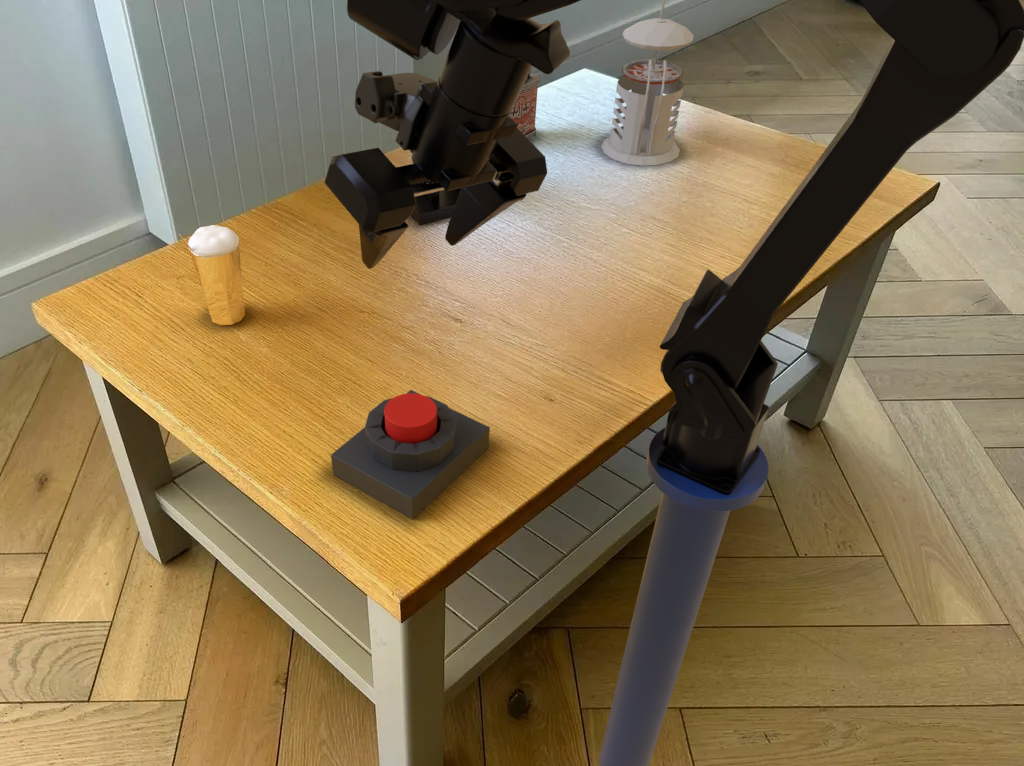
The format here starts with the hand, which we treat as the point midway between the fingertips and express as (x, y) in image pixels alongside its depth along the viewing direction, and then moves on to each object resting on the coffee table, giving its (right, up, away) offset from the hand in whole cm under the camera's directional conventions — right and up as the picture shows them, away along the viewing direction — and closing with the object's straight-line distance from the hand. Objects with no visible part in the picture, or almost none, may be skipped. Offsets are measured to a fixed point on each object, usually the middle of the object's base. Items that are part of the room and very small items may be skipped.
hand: (409, 253), depth 76 cm
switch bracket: (+3, +12, +28) cm, 31 cm away
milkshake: (-18, -4, +11) cm, 21 cm away
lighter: (+12, +23, +40) cm, 48 cm away
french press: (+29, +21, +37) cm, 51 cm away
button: (0, -15, -7) cm, 16 cm away
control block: (0, -18, -5) cm, 18 cm away
